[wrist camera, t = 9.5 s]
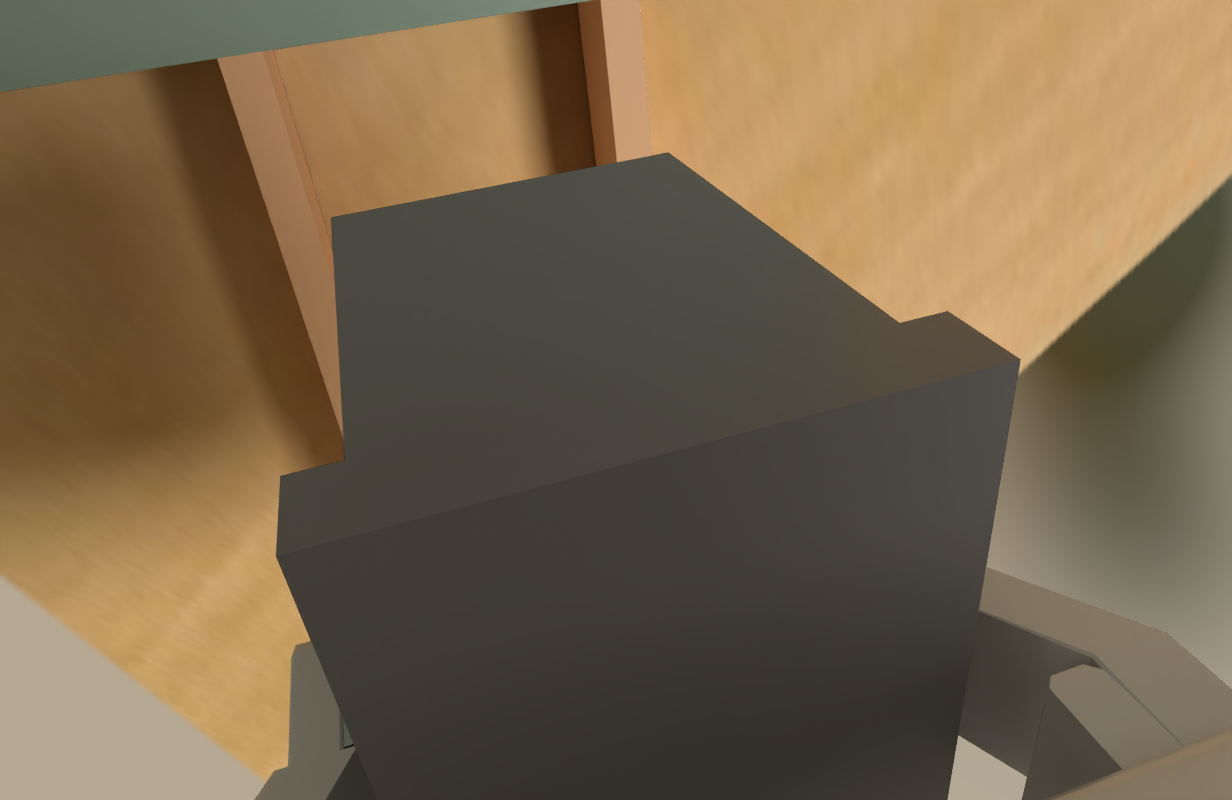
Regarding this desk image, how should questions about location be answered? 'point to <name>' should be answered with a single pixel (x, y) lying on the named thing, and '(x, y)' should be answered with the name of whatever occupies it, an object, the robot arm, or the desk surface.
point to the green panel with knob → (243, 45)
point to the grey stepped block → (641, 504)
